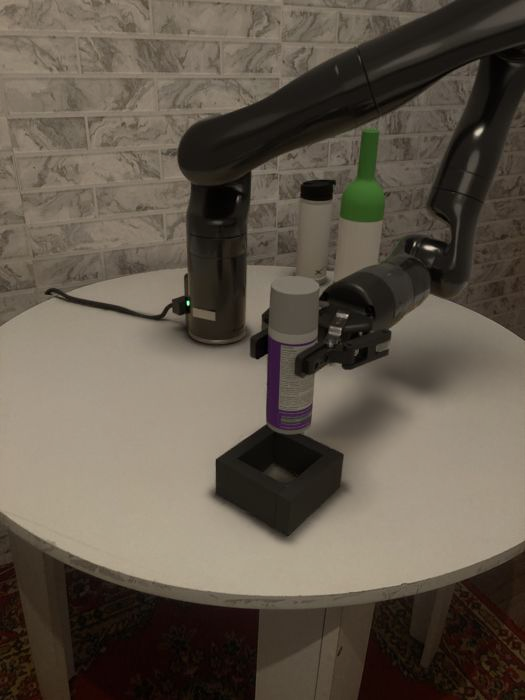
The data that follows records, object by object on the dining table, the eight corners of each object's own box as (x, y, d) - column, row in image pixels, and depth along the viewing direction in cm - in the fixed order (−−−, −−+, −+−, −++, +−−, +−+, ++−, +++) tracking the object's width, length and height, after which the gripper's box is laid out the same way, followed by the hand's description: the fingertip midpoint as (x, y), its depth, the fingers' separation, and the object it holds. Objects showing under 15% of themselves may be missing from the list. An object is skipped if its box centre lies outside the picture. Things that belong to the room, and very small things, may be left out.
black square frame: (215, 492, 63) (215, 459, 61) (271, 451, 70) (272, 419, 68) (287, 536, 58) (290, 501, 56) (340, 486, 65) (344, 453, 63)
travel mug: (325, 287, 117) (334, 184, 107) (292, 284, 118) (298, 181, 109) (329, 276, 122) (337, 177, 113) (297, 273, 123) (303, 175, 114)
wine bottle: (376, 306, 109) (398, 134, 95) (333, 304, 109) (350, 132, 95) (369, 290, 116) (390, 127, 102) (330, 289, 116) (344, 126, 102)
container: (263, 409, 63) (266, 275, 56) (307, 407, 63) (316, 275, 56) (268, 435, 59) (272, 295, 52) (315, 433, 59) (325, 294, 52)
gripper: (316, 257, 69) (217, 301, 57) (432, 288, 61) (344, 346, 49) (312, 315, 73) (218, 368, 61) (421, 352, 65) (337, 421, 53)
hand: (275, 358), depth 55 cm, fingers closed on container, 4 cm apart
